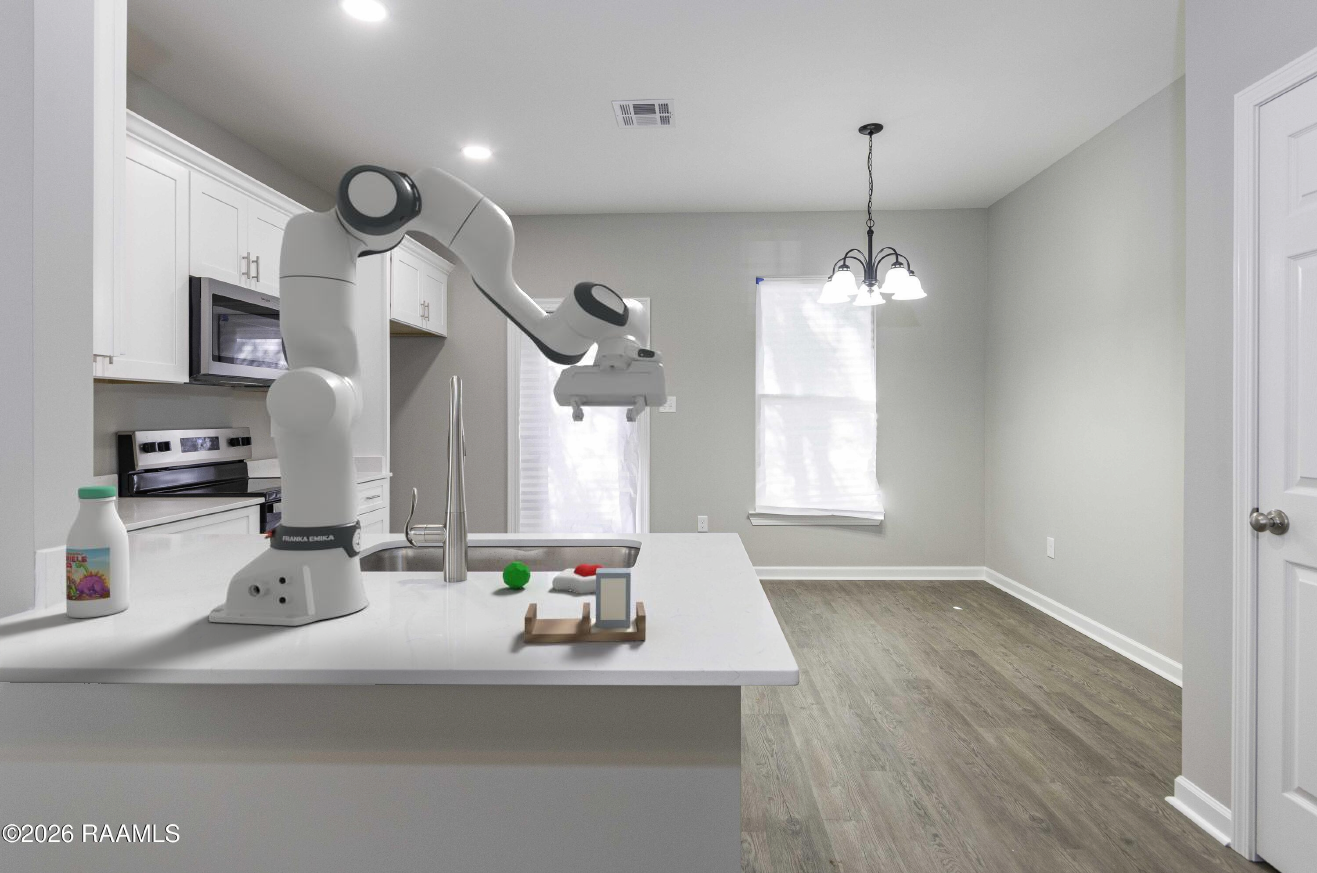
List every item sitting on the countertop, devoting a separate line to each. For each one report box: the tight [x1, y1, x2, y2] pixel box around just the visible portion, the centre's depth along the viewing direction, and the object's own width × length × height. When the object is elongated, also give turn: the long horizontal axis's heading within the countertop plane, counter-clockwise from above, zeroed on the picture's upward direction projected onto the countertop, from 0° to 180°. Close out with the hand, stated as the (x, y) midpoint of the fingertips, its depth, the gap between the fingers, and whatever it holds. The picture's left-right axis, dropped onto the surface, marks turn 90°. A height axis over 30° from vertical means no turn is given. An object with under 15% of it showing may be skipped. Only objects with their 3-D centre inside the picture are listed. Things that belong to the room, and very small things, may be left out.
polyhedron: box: [502, 561, 531, 590], centre depth 123 cm, size 5×5×5 cm
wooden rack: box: [524, 601, 647, 644], centre depth 98 cm, size 17×7×4 cm, turn 95°
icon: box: [551, 563, 604, 595], centre depth 124 cm, size 12×4×10 cm
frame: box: [595, 567, 632, 628], centre depth 98 cm, size 5×3×8 cm, turn 93°
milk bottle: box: [65, 485, 131, 619], centre depth 106 cm, size 8×8×20 cm
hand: (603, 419), depth 113 cm, fingers open, 8 cm apart
